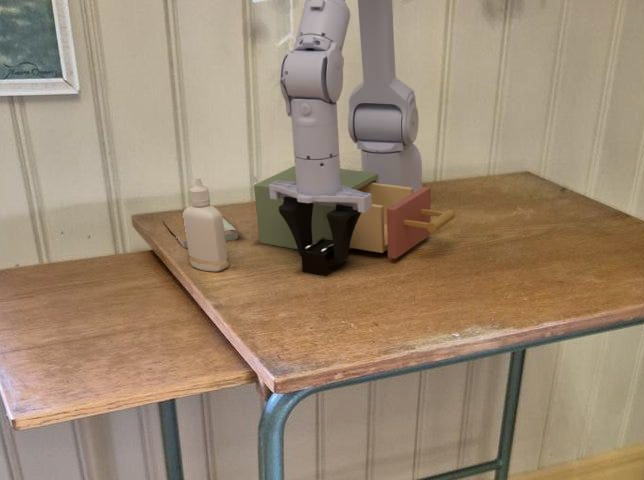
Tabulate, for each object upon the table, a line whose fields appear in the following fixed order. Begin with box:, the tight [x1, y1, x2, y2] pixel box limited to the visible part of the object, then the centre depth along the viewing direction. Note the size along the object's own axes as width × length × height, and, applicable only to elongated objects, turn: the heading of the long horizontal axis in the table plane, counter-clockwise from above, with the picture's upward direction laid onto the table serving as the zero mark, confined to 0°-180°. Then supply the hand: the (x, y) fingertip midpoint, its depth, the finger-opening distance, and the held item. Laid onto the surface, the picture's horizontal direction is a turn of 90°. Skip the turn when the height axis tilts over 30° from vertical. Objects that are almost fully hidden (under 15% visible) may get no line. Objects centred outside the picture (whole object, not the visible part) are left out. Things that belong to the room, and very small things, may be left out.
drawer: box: [349, 182, 456, 260], centre depth 126 cm, size 17×11×7 cm, turn 61°
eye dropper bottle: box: [183, 176, 229, 273], centre depth 121 cm, size 4×6×12 cm
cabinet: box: [253, 165, 378, 251], centre depth 131 cm, size 13×12×8 cm
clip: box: [300, 237, 347, 277], centre depth 122 cm, size 5×4×3 cm
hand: (323, 257), depth 122 cm, fingers open, 5 cm apart
